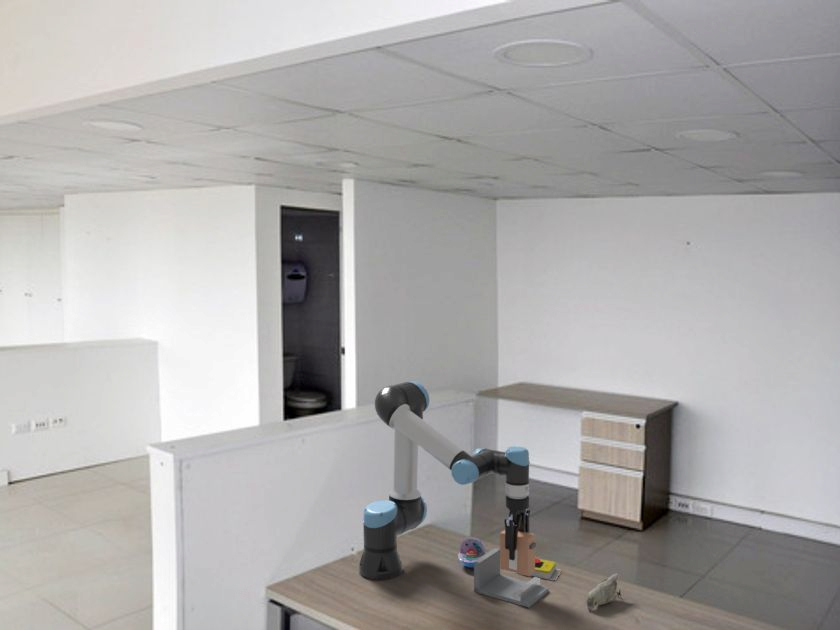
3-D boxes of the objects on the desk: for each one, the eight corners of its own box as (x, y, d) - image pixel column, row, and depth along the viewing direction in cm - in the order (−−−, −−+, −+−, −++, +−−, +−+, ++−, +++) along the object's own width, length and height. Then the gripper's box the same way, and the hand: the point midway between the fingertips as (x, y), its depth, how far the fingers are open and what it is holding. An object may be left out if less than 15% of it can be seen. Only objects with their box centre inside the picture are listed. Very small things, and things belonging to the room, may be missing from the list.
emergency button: (521, 552, 262) (562, 559, 256) (520, 564, 262) (562, 571, 256) (513, 562, 253) (556, 569, 247) (513, 574, 254) (555, 582, 248)
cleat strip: (514, 599, 231) (514, 592, 231) (534, 583, 242) (534, 576, 242) (520, 601, 230) (520, 593, 230) (540, 585, 241) (540, 578, 241)
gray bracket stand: (473, 591, 240) (474, 561, 239) (494, 576, 251) (495, 547, 250) (529, 607, 228) (529, 576, 227) (548, 591, 239) (548, 561, 239)
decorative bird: (581, 609, 227) (581, 585, 227) (609, 593, 239) (609, 571, 238) (596, 615, 224) (596, 591, 223) (624, 598, 235) (624, 576, 234)
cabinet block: (500, 568, 238) (500, 532, 238) (507, 563, 243) (507, 528, 242) (530, 576, 232) (530, 539, 231) (537, 571, 236) (537, 534, 236)
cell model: (454, 571, 255) (454, 544, 255) (462, 557, 267) (462, 532, 266) (482, 574, 253) (482, 547, 252) (489, 561, 264) (489, 535, 263)
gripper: (514, 505, 227) (514, 578, 228) (540, 490, 241) (540, 559, 243) (493, 500, 231) (493, 572, 232) (519, 486, 246) (520, 554, 247)
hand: (517, 565), depth 238 cm, fingers closed on cabinet block, 5 cm apart
